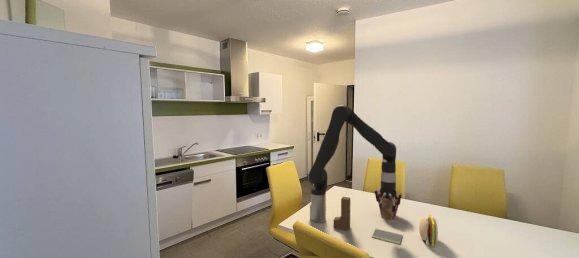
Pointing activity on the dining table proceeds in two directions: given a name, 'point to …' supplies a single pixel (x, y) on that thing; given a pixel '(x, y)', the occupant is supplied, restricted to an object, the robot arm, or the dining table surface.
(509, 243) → the dining table surface
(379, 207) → the plant pot
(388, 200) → the walnut block
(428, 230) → the hamburger
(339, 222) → the wooden block
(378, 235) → the mat
